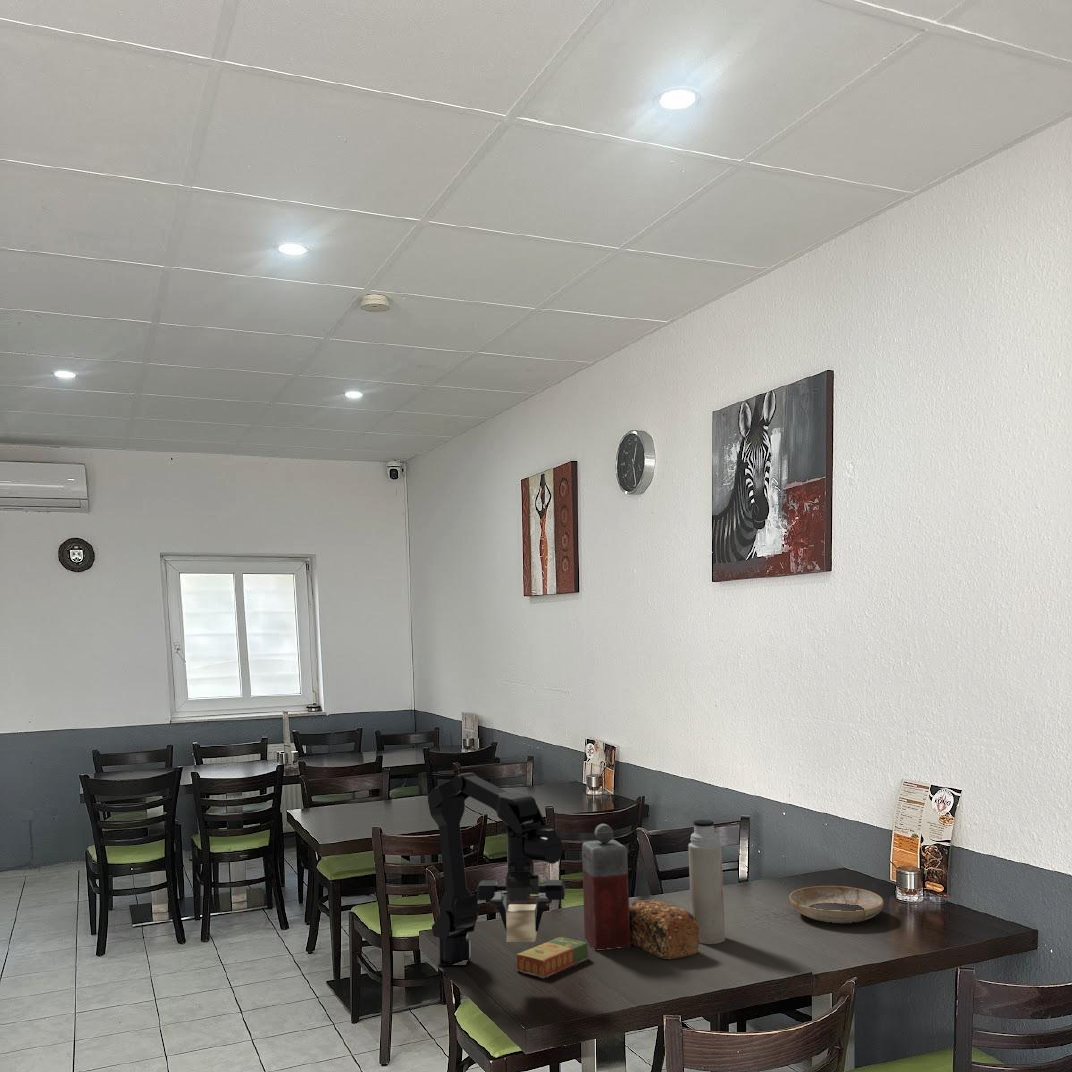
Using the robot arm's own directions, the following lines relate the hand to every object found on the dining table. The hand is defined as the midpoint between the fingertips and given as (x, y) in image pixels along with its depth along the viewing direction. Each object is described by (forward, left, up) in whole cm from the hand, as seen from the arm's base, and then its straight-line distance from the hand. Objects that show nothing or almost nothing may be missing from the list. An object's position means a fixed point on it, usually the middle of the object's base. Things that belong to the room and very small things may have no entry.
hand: (521, 931), depth 203 cm
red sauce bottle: (+18, +29, -12) cm, 36 cm away
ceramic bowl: (+78, +49, -12) cm, 93 cm away
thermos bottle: (+43, +31, -12) cm, 54 cm away
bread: (+31, +26, -12) cm, 42 cm away
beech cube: (0, 0, -1) cm, 1 cm away
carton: (+6, +13, -12) cm, 19 cm away
